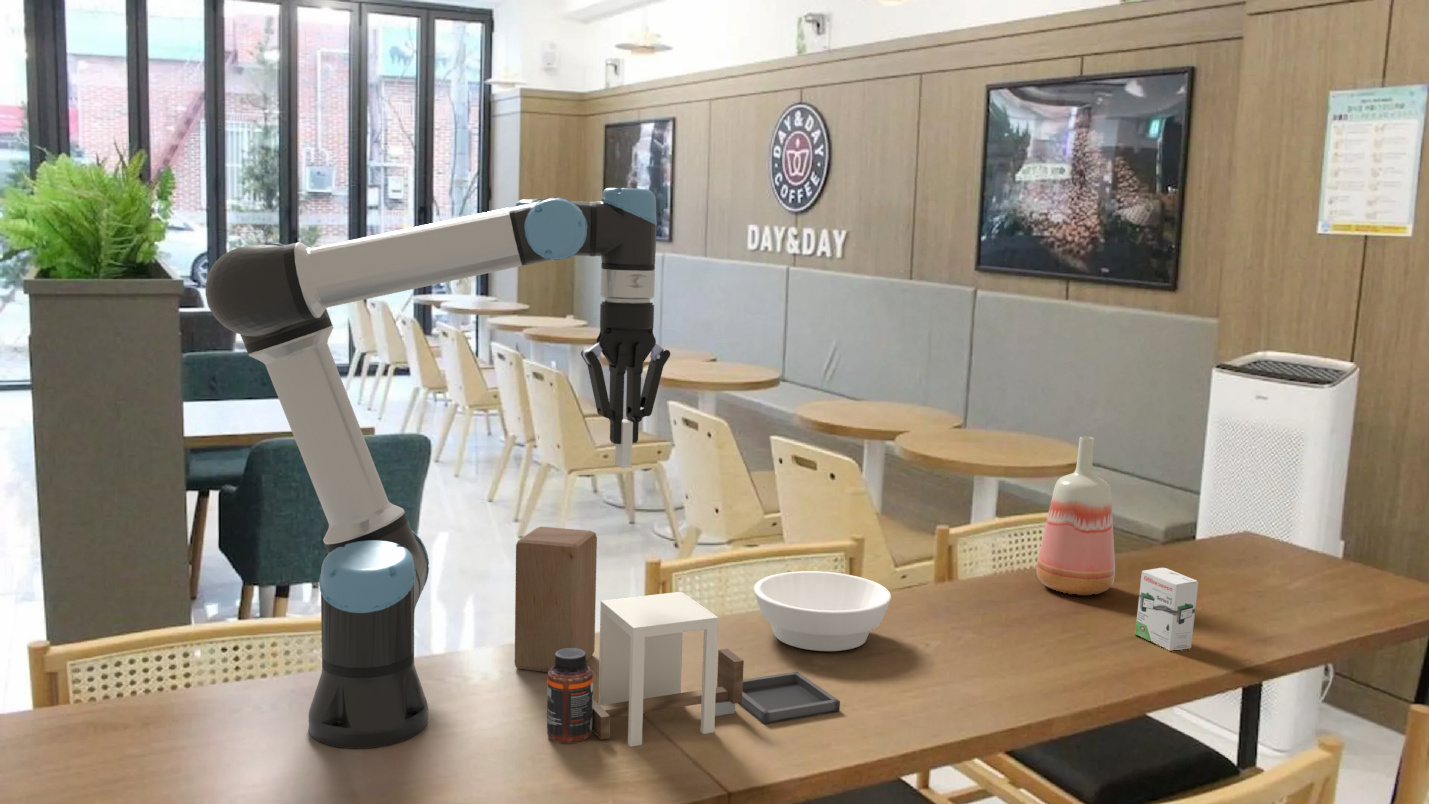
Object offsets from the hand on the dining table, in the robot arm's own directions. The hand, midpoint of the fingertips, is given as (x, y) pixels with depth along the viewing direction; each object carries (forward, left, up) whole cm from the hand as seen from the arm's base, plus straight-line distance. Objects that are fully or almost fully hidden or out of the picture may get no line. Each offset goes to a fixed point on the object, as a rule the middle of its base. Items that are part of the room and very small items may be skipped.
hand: (623, 465), depth 171 cm
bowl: (+38, +6, -33) cm, 50 cm away
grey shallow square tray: (+19, -15, -32) cm, 40 cm away
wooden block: (-6, +11, -33) cm, 35 cm away
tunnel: (+2, -15, -32) cm, 36 cm away
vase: (+99, +13, -33) cm, 105 cm away
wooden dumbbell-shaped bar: (+1, -15, -32) cm, 35 cm away
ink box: (+92, -16, -33) cm, 99 cm away
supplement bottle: (-13, -15, -33) cm, 38 cm away
